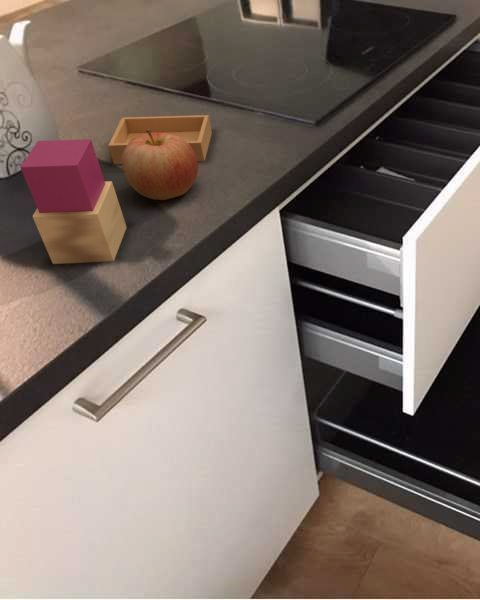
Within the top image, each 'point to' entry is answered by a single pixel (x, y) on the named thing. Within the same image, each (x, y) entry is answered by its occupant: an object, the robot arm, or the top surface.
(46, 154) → the pink block
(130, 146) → the apple
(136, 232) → the top surface
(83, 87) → the top surface
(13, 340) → the top surface
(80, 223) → the birch block
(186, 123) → the tray
